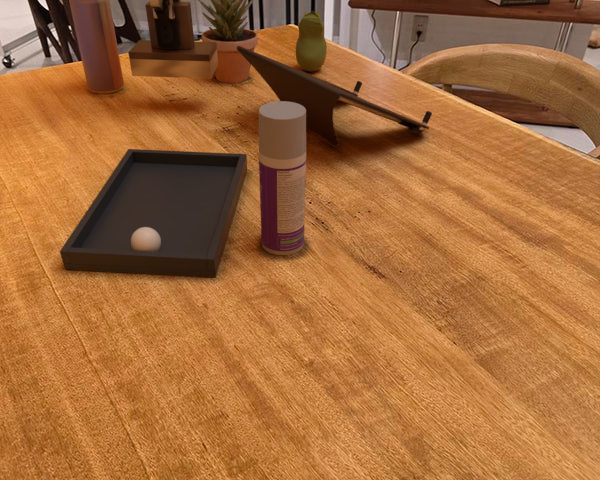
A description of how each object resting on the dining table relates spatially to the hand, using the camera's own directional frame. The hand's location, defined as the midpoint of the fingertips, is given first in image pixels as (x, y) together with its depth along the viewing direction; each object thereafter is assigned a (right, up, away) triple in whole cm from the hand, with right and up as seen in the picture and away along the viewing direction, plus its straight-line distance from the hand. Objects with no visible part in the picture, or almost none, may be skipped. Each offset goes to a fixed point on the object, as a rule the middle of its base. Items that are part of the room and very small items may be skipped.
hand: (171, 42), depth 88 cm
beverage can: (-14, -3, +12) cm, 19 cm away
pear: (+21, +4, +21) cm, 30 cm away
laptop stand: (+25, -12, +1) cm, 28 cm away
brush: (0, -3, +3) cm, 4 cm away
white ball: (+3, -32, -27) cm, 43 cm away
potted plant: (+7, +1, +18) cm, 19 cm away
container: (+17, -32, -23) cm, 43 cm away
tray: (+4, -28, -19) cm, 34 cm away
